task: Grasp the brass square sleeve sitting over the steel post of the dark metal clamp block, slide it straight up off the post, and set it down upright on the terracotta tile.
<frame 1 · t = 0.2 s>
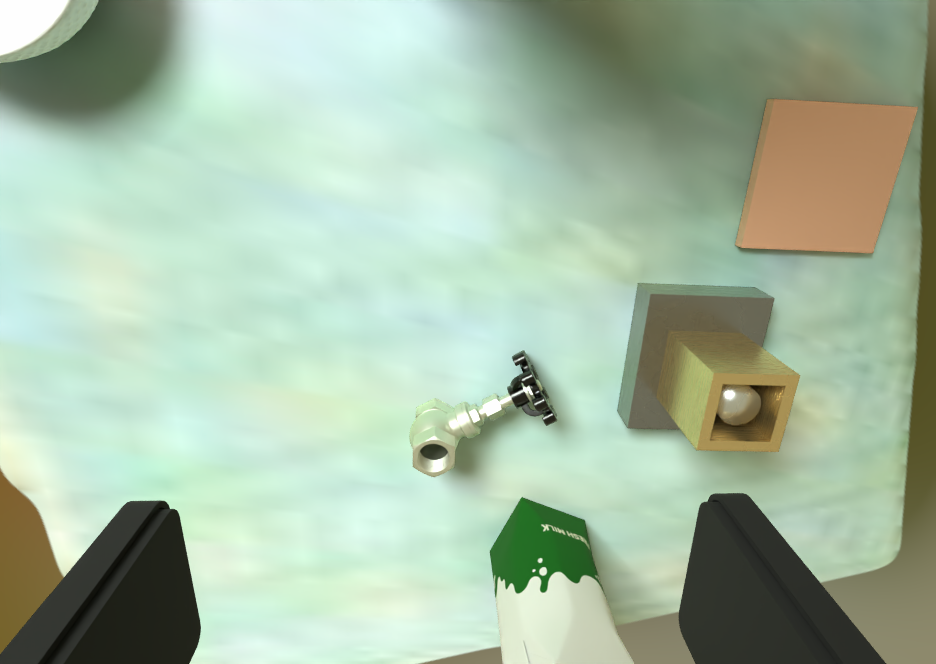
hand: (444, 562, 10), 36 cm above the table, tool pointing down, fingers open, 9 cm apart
sleeve: (698, 365, 46), point 3 cm above the table, touching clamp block
tile: (818, 178, 44), on the table
valve: (473, 396, 50), on the table
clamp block: (683, 351, 49), on the table
milk carton: (536, 533, 56), on the table
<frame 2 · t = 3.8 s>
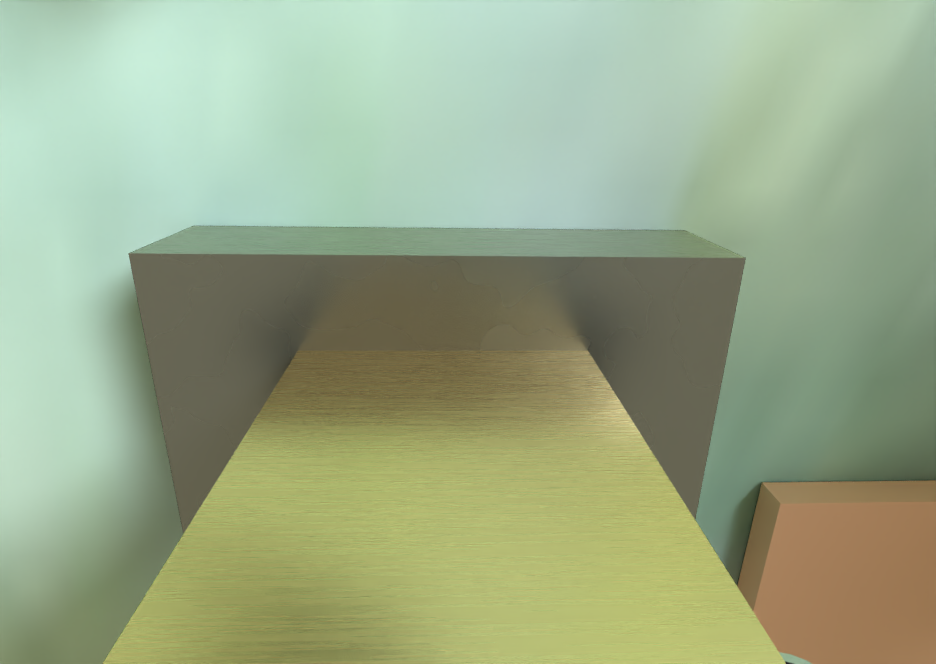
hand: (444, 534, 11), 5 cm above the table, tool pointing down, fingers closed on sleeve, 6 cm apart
sleeve: (444, 473, 13), point 3 cm above the table, touching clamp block, gripper
tile: (888, 618, 19), on the table
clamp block: (443, 409, 16), on the table
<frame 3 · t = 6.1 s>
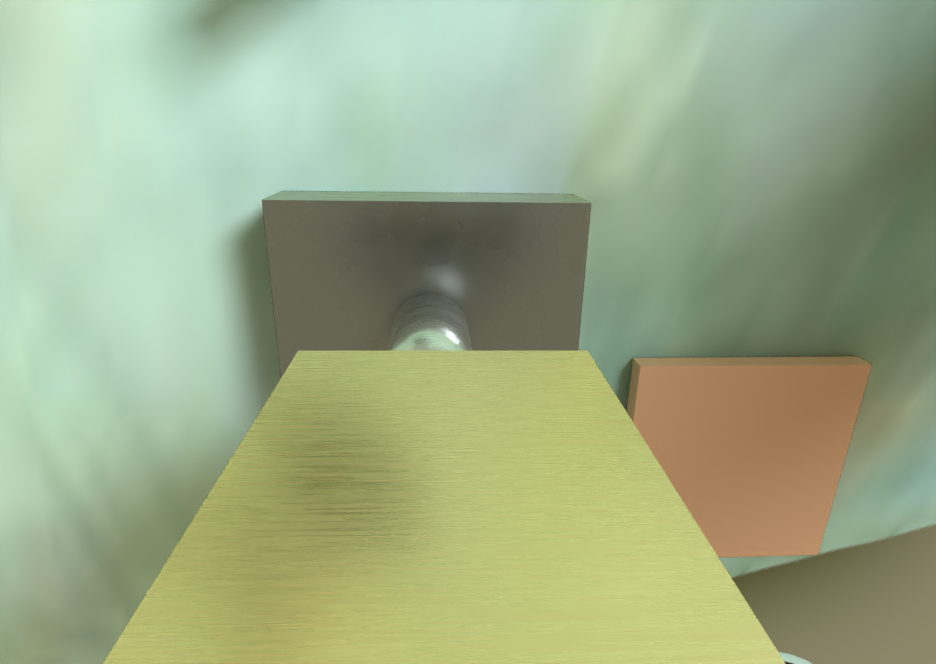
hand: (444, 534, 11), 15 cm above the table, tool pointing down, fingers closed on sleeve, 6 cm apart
sleeve: (444, 473, 13), point 13 cm above the table, touching gripper
tile: (726, 456, 29), on the table
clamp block: (430, 307, 25), on the table
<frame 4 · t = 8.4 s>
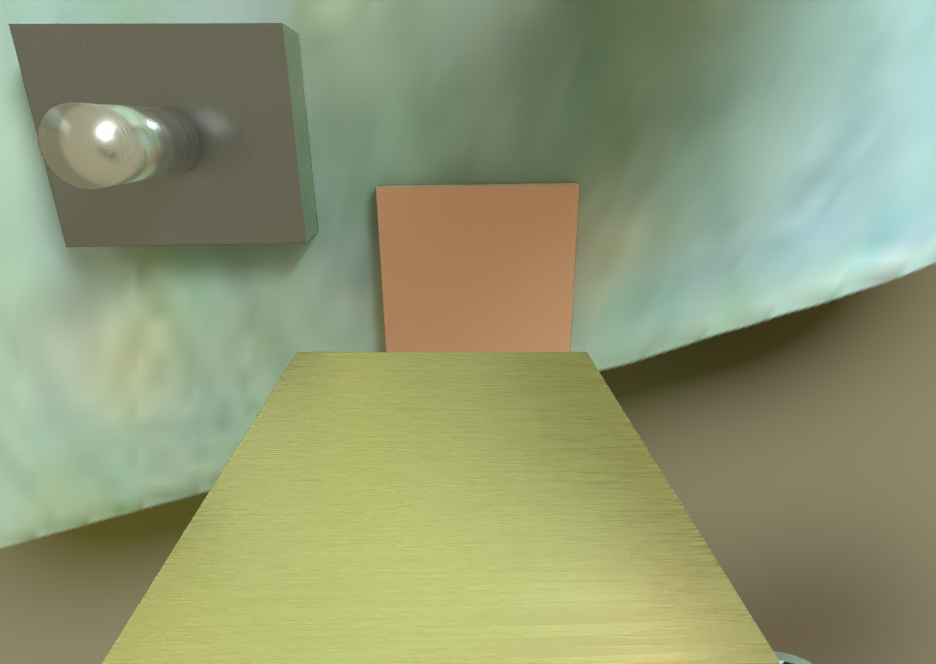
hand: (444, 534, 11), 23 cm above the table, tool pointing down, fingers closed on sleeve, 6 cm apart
sleeve: (443, 474, 13), point 21 cm above the table, touching gripper
tile: (477, 280, 33), on the table
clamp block: (194, 139, 30), on the table
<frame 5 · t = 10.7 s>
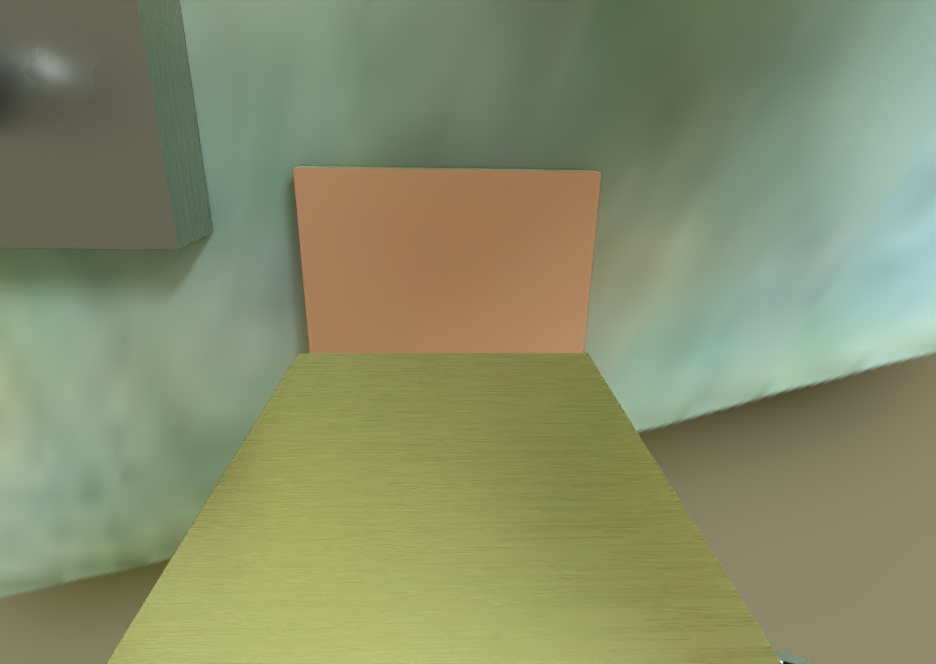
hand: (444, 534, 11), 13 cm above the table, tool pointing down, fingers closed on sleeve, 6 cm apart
sleeve: (444, 476, 13), point 11 cm above the table, touching gripper
tile: (448, 307, 23), on the table
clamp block: (15, 86, 20), on the table
when the fingers open (4 cm above the table, at t = 12.8 s): sleeve drops 1 cm, resting on tile.
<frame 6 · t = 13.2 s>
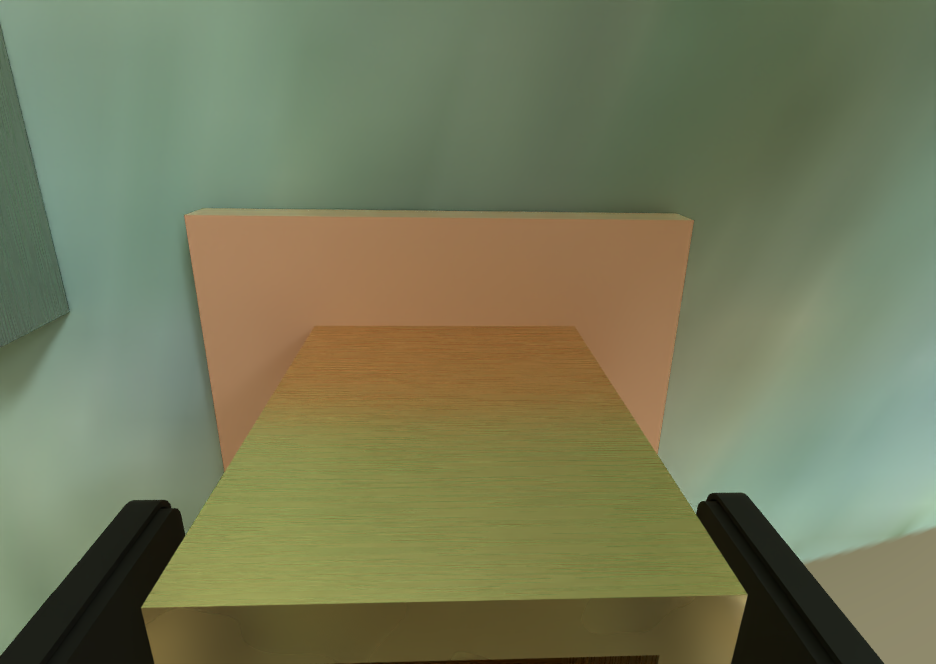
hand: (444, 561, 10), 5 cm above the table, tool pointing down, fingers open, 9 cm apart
sleeve: (445, 438, 14), point 1 cm above the table, touching tile
tile: (443, 419, 15), on the table
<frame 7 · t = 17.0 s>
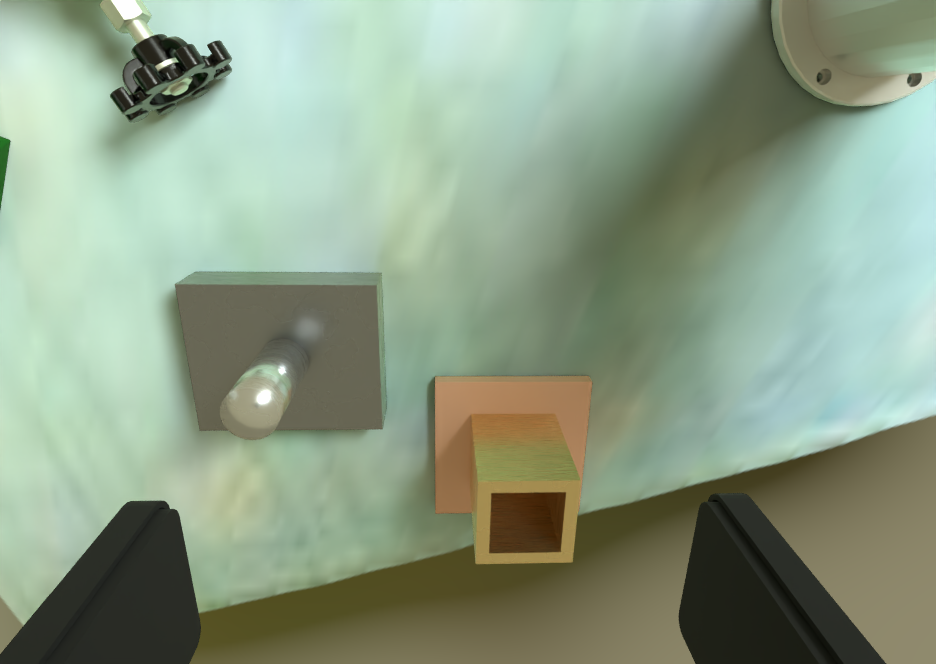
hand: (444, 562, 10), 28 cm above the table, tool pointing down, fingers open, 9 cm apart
sleeve: (511, 450, 41), point 1 cm above the table, touching tile
tile: (509, 443, 42), on the table
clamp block: (296, 343, 39), on the table
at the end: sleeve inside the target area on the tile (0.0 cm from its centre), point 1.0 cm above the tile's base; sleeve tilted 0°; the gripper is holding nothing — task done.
